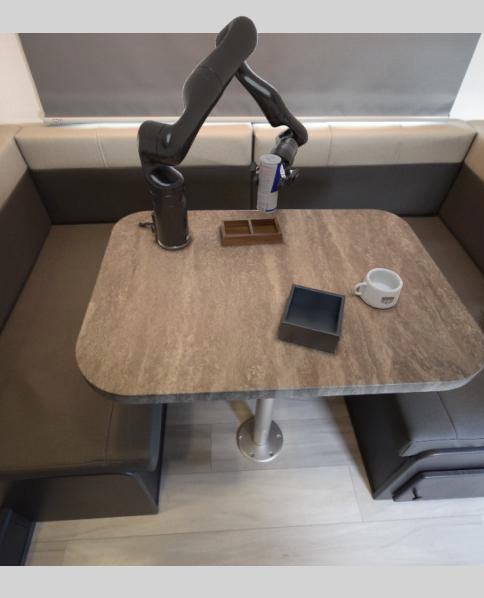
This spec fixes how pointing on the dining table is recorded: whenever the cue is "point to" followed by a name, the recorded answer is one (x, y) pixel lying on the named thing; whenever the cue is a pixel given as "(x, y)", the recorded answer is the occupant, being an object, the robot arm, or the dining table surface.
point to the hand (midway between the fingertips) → (266, 186)
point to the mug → (380, 288)
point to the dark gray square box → (312, 318)
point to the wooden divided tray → (251, 231)
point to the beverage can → (268, 183)
